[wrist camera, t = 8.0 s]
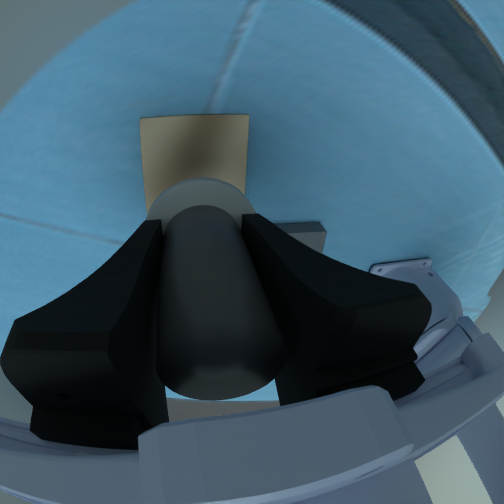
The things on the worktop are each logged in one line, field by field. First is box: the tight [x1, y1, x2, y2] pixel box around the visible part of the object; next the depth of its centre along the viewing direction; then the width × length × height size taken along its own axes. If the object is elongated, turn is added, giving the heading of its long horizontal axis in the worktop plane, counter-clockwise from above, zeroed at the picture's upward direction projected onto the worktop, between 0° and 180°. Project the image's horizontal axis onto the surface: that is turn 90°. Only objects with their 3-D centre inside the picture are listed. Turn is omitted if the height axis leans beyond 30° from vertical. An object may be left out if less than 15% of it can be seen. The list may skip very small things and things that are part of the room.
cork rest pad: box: [140, 114, 249, 214], centre depth 18 cm, size 7×7×1 cm
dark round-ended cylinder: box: [146, 177, 287, 400], centre depth 10 cm, size 5×5×9 cm
